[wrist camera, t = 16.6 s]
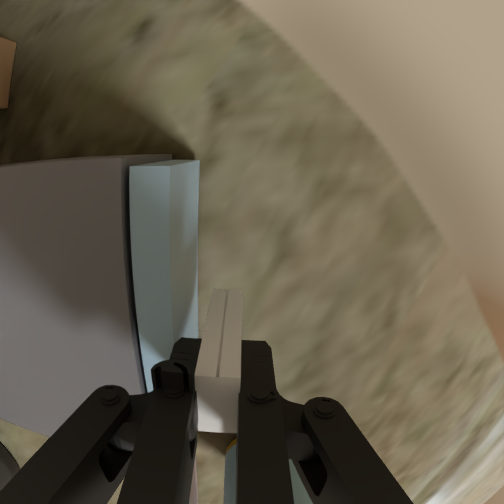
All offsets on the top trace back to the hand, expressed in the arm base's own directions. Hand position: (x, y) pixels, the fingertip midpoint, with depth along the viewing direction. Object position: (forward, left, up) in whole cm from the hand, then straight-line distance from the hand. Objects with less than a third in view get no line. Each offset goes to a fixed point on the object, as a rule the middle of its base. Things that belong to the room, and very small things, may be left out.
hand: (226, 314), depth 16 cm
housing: (-13, 0, -4) cm, 13 cm away
